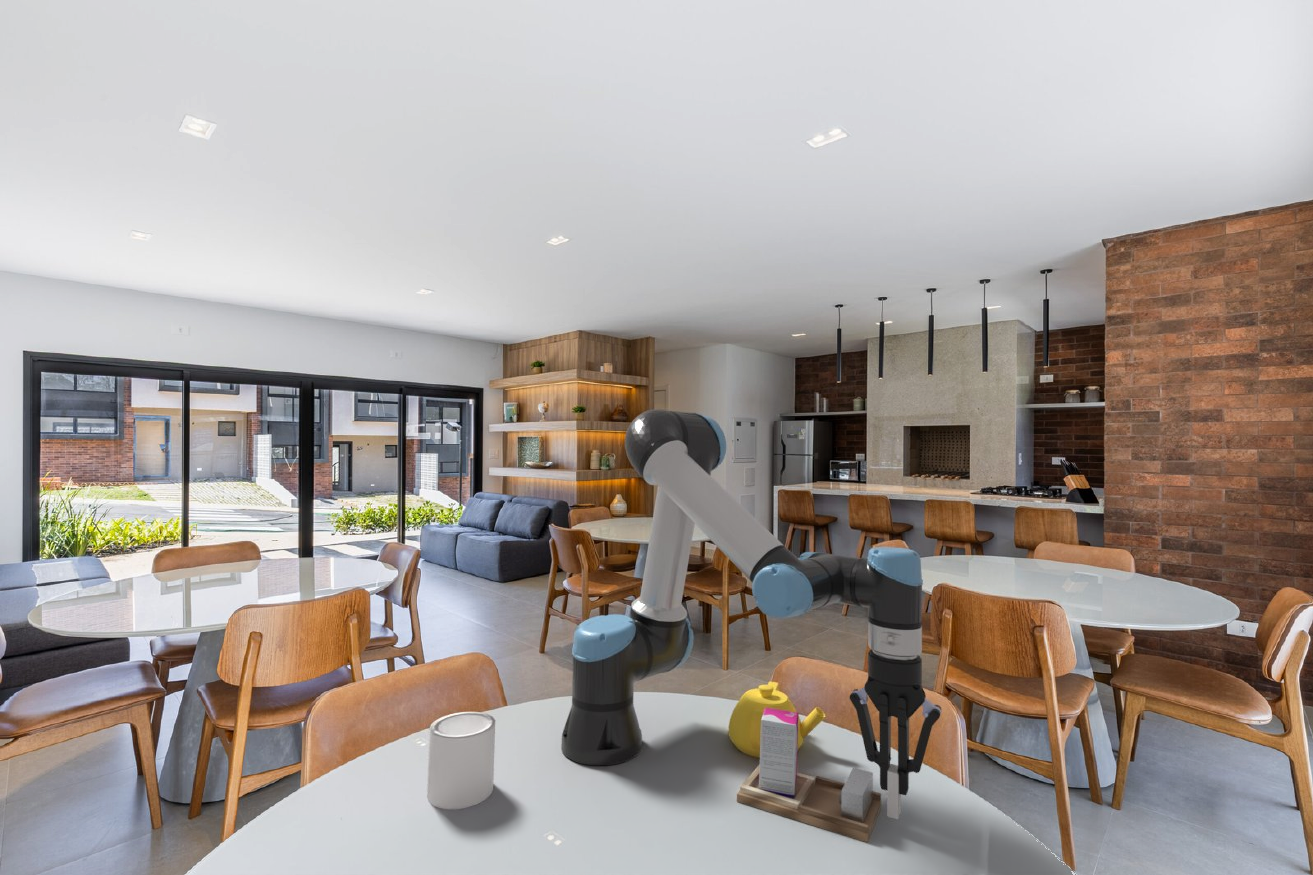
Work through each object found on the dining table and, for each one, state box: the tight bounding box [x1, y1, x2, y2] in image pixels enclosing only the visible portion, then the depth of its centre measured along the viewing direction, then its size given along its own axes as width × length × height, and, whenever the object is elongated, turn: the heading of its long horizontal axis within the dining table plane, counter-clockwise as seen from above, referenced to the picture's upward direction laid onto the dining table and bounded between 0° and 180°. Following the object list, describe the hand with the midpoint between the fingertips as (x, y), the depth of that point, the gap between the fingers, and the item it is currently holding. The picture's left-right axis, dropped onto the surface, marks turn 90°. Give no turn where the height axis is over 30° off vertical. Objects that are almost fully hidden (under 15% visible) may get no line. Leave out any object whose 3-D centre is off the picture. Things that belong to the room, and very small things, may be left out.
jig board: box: [736, 763, 882, 843], centre depth 96 cm, size 20×11×2 cm, turn 60°
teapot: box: [727, 680, 827, 759], centre depth 116 cm, size 20×18×11 cm
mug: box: [426, 711, 496, 810], centre depth 100 cm, size 14×10×11 cm
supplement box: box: [759, 708, 799, 798], centre depth 99 cm, size 6×6×12 cm
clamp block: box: [839, 767, 874, 823], centre depth 93 cm, size 4×8×4 cm, turn 150°
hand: (894, 813), depth 90 cm, fingers closed
